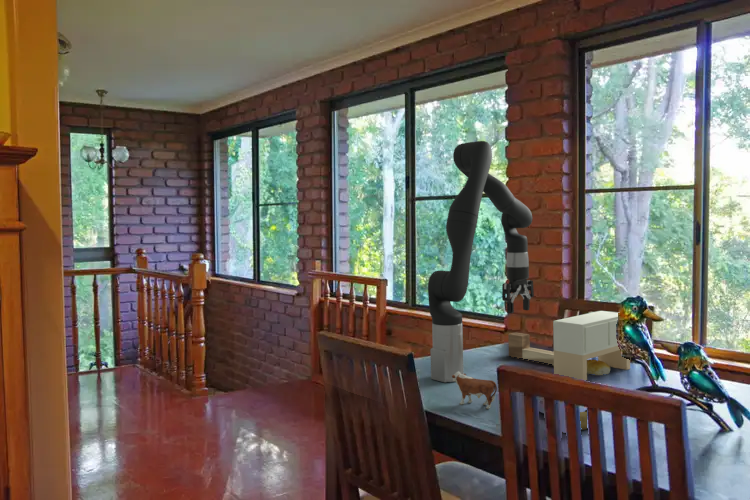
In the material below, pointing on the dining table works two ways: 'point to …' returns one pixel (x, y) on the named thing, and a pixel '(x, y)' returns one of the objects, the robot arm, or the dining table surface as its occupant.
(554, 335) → the cabinet
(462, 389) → the bull figurine
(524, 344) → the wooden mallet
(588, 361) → the bread roll
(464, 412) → the dining table surface
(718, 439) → the dining table surface
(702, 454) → the dining table surface
